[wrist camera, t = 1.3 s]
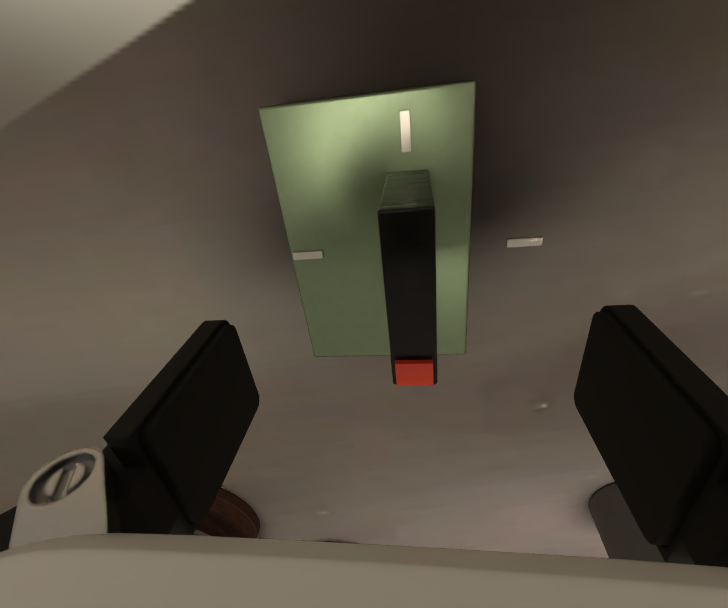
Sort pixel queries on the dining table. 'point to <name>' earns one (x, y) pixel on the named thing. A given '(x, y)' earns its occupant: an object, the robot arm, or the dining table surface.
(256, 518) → the black ball on stand
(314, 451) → the dining table surface
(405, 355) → the black block
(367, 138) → the clamp panel
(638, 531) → the bottle
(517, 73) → the dining table surface
